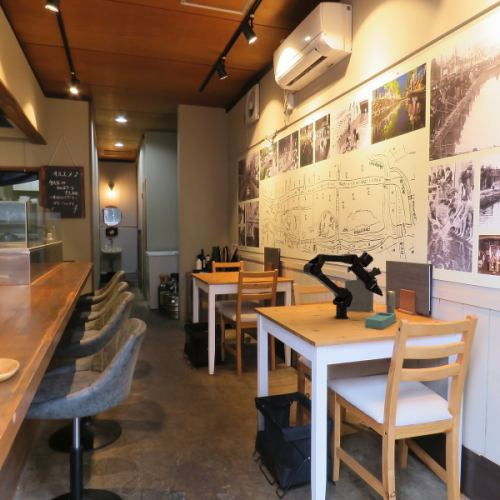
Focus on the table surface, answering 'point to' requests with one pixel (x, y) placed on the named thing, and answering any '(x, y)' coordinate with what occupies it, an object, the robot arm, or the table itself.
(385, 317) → the bar
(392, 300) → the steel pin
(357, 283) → the dark grey upright panel
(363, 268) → the robot arm
